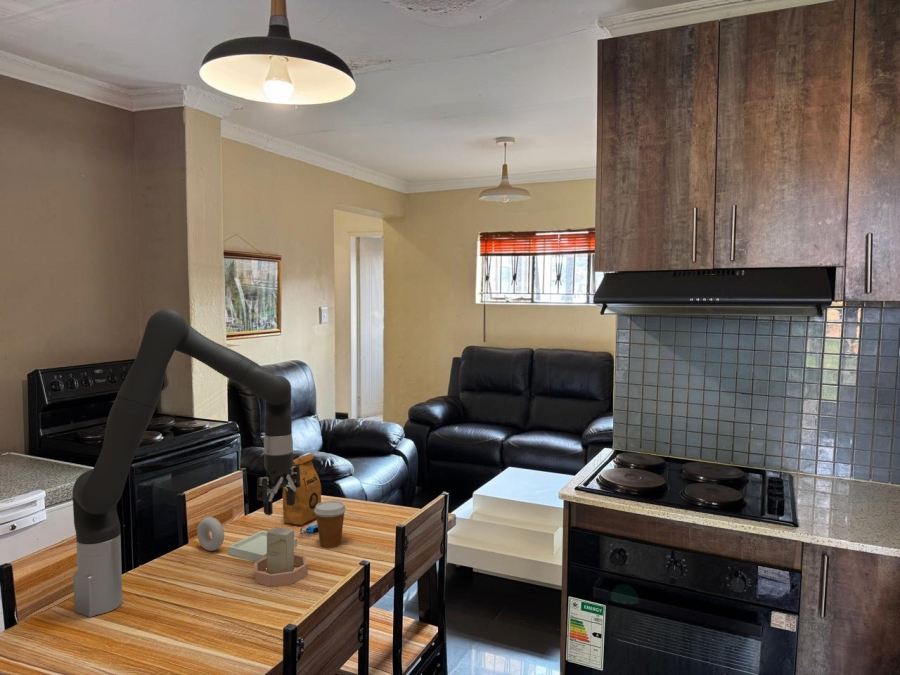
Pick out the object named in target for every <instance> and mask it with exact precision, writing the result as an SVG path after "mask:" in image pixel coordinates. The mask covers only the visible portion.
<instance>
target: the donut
mask: <svg viewBox="0 0 900 675" xmlns="http://www.w3.org/2000/svg"><path fill="white" fill-rule="evenodd" d="M210 533H211V535H210ZM196 536H197V541H198V542H199V545H200V546H201V547H202V548H203V549H204V550H206V551H209V552H213V551H216V550H219V549H220V547H221V546H222V545H223V542H224V540H225V531H224V527H223V525H222V523H221V522H220V521H219V520H218V519H217V518H214V517H213V516H206V517H205V518H203V519H202V520H200V522H198V526H197V530H196Z"/></svg>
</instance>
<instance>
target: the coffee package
mask: <svg viewBox="0 0 900 675" xmlns="http://www.w3.org/2000/svg"><path fill="white" fill-rule="evenodd" d="M312 460H314V455H313V453H309V454H307V455H303V456H301V457H297V458H295V459H293V466H297V467H299V468H300V484H301V485H300V487H297V488H296V491H295V502H294V505H292V506H291V505H287V499H286V492H287V491H288V490H287V489H286V488H285V487H282V518H283V524H294V525H304V524H306V523H308V522H310V521H313V520H315V519H317V518H316V514H315V512H314V510H315V508H316V505H317V504H319V503H321V502H322V484H321V479H320V478H319V475H318V472H317V471H316V469H315V467H314V463H313V462H312ZM290 478H291V477H290ZM295 483H296V479H295Z"/></svg>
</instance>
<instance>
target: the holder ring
mask: <svg viewBox="0 0 900 675" xmlns="http://www.w3.org/2000/svg"><path fill="white" fill-rule="evenodd" d="M253 565H254V566H253V567H254V583H256V584H258V583H259V585H263V586H266V587H270V588H273V587H280V586H287V585H293V584H295V583H297V582H298V581H300V580H301V579H304V578H305V577H307V576H308V562H307V558H306V556H305V555H302V554H298V553H294V566H295V565H296V566H295V567H297V568H294V570H293V571H292V572H284V573H277V574H269V573H267V572H265V570H267V569H266V568H267V556H266V557H264V558H262V559H261V560H259V561H257V562H255V561H254V564H253ZM299 566H300V567H299Z"/></svg>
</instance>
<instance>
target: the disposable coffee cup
mask: <svg viewBox="0 0 900 675" xmlns="http://www.w3.org/2000/svg"><path fill="white" fill-rule="evenodd" d="M346 510H347V508H346V506H345V503H344V502H342V501H339V500H327V501H326V500H325V501H321V503H319V504H317V505H316V508H315V510H314V512H315V514H316V518H315V519H316V523H317V524H316V525H317V530H318V538H319V539H318V540H319V546H320V547H322V548H326V549H327V548H328V549H329V548H335V547H338V546H340V545H341V544H342V537H343V526H344V520H345V512H346Z"/></svg>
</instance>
